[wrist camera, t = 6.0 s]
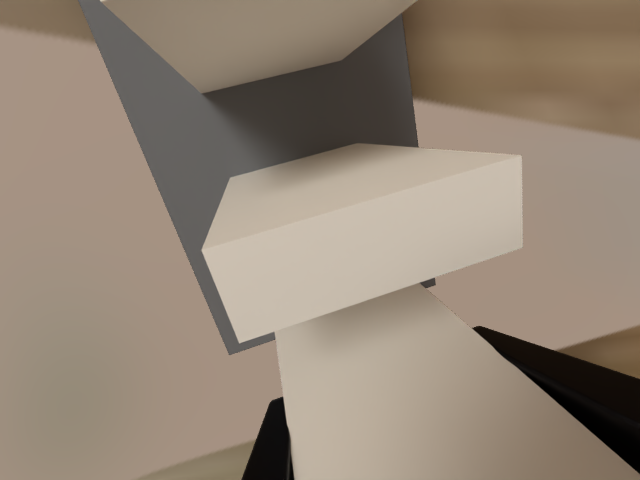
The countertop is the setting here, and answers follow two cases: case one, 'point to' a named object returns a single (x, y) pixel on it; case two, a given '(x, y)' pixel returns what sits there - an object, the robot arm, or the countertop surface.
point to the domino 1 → (252, 34)
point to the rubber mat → (249, 125)
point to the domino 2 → (356, 228)
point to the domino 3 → (423, 402)
